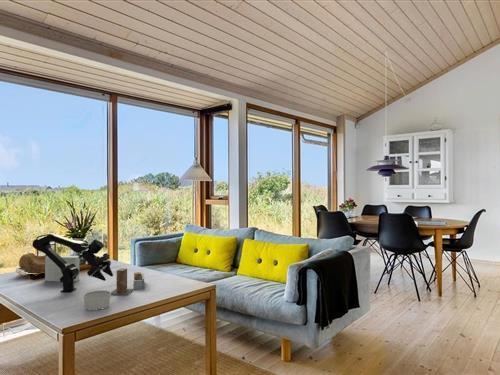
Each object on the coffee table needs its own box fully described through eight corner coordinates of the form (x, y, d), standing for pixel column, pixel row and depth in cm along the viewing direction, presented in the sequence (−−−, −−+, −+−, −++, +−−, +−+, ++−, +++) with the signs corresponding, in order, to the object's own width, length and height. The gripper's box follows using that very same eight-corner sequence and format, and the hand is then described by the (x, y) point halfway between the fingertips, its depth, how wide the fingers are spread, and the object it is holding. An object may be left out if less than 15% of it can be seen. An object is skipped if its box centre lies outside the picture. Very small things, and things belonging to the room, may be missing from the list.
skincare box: (80, 279, 239) (79, 256, 239) (75, 282, 234) (75, 257, 234) (49, 278, 241) (49, 255, 241) (44, 281, 236) (44, 256, 236)
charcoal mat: (127, 295, 207) (127, 294, 207) (108, 295, 208) (108, 294, 208) (134, 289, 218) (134, 288, 218) (117, 289, 219) (117, 288, 219)
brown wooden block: (116, 292, 210) (116, 270, 210) (120, 289, 216) (120, 268, 215) (123, 292, 210) (123, 270, 210) (127, 290, 215) (127, 268, 215)
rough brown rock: (21, 280, 239) (22, 258, 238) (17, 273, 251) (18, 252, 250) (60, 276, 254) (61, 255, 253) (54, 269, 267) (55, 250, 266)
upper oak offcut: (134, 280, 224) (134, 274, 224) (134, 278, 228) (134, 272, 228) (141, 279, 226) (141, 273, 226) (140, 278, 229) (140, 271, 229)
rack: (133, 289, 219) (133, 279, 219) (134, 282, 233) (134, 273, 233) (144, 288, 221) (144, 278, 221) (144, 282, 235) (144, 272, 235)
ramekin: (114, 302, 195) (114, 290, 195) (105, 311, 182) (105, 298, 182) (89, 303, 194) (89, 290, 194) (79, 311, 181) (78, 298, 181)
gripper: (92, 252, 204) (111, 272, 203) (108, 246, 223) (125, 265, 222) (79, 266, 205) (97, 286, 204) (95, 259, 223) (112, 277, 223)
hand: (109, 278), depth 213 cm, fingers open, 9 cm apart
